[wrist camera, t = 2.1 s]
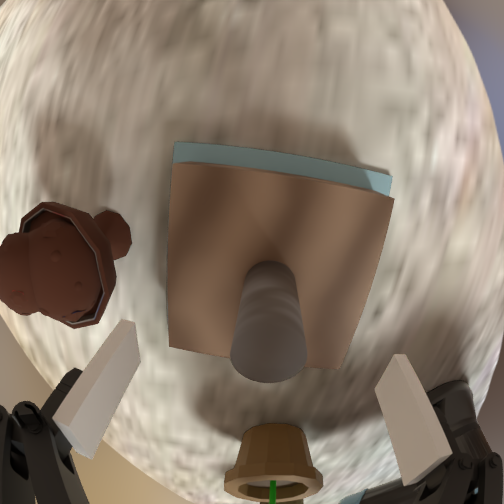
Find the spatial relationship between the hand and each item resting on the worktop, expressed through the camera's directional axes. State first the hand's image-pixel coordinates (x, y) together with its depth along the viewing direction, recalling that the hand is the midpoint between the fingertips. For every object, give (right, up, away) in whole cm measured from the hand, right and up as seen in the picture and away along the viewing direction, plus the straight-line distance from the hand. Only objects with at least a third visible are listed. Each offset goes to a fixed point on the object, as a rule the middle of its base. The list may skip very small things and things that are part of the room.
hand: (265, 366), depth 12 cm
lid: (+1, +5, +13) cm, 14 cm away
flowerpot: (+3, -25, +25) cm, 35 cm away
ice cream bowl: (-16, +7, +14) cm, 22 cm away
